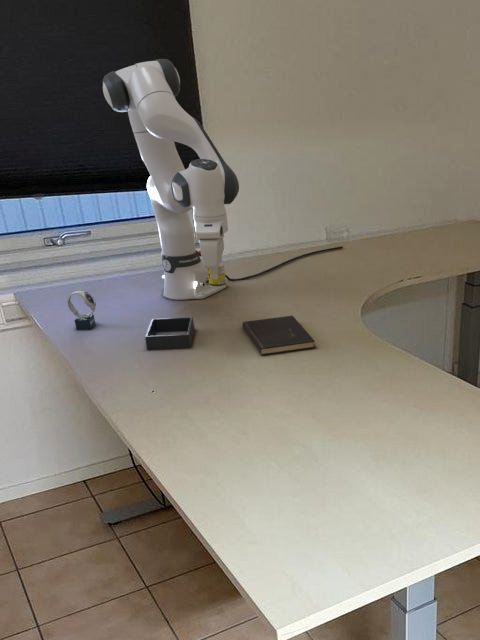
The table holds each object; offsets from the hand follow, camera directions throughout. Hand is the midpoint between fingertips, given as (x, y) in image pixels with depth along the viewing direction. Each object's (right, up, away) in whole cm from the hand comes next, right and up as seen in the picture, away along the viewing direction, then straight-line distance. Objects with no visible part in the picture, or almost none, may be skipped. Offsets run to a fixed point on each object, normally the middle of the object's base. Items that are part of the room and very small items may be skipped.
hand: (216, 275), depth 210 cm
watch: (-44, -10, +21) cm, 50 cm away
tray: (-15, -16, +11) cm, 25 cm away
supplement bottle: (0, -3, +2) cm, 3 cm away
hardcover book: (+16, -16, +11) cm, 25 cm away
